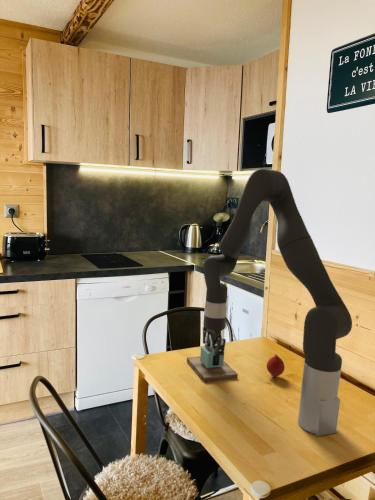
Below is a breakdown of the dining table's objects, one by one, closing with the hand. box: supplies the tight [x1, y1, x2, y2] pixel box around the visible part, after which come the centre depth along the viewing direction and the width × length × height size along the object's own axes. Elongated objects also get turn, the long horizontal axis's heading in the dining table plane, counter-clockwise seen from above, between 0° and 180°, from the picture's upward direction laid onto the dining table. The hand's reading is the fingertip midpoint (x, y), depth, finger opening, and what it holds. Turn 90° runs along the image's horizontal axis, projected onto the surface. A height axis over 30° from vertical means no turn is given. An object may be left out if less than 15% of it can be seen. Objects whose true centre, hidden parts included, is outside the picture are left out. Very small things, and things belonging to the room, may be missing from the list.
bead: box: [199, 346, 225, 368], centre depth 138 cm, size 6×6×5 cm
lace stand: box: [186, 342, 239, 383], centre depth 138 cm, size 16×12×11 cm
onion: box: [266, 353, 285, 378], centre depth 136 cm, size 6×6×8 cm
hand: (211, 361), depth 138 cm, fingers closed on bead, 5 cm apart
